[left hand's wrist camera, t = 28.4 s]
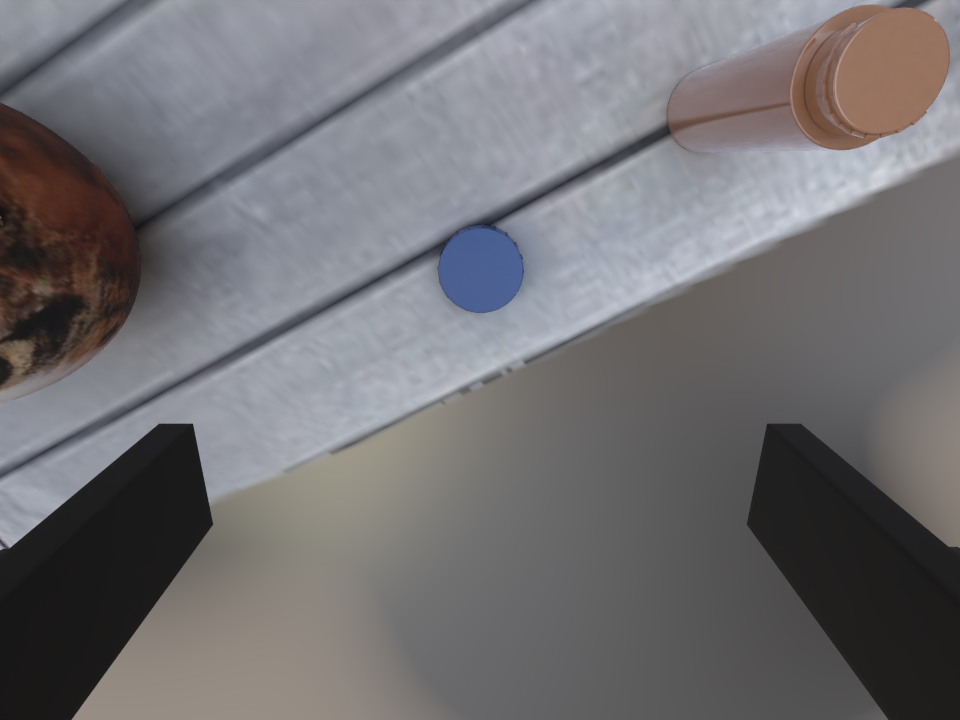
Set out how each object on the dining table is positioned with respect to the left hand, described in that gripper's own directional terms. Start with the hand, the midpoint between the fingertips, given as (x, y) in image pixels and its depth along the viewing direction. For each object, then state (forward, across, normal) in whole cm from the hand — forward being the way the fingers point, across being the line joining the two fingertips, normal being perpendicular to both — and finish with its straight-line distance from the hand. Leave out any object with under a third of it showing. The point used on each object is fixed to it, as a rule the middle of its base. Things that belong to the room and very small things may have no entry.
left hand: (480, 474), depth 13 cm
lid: (+26, 0, 0) cm, 26 cm away
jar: (+27, +14, +10) cm, 32 cm away
